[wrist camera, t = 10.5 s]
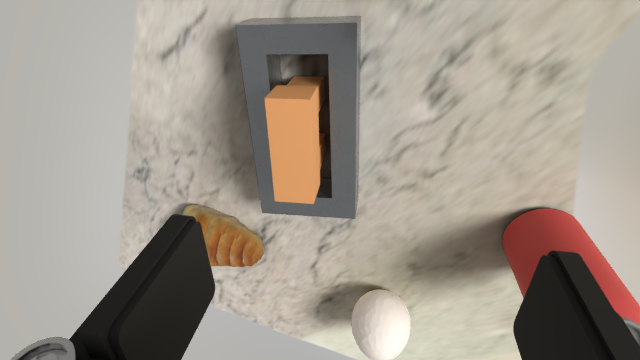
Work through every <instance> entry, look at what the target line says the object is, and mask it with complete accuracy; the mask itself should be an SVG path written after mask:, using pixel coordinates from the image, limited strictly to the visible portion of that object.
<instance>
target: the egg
mask: <svg viewBox="0 0 640 360" xmlns="http://www.w3.org/2000/svg"><path fill="white" fill-rule="evenodd" d="M351 325H352V332H353V336H354V338H355V340H356V343H357V345H358V346H359V348H360V350H361V351H362V352H363V353H364V354H365V355H366V356H367V357H369V358H370V359H373V360H391V359H393V358H395V357H396V356H397V355H398V354H399V353H400V352H401V351H402V350H403V348H404V347H405V345H406V343H407V341H408V338H409V335H410V315H409V312H408V310H407V307H406V305H405V304H404V302H403V301H402V300H401V299H400V298H399V297H398V296H397V295H395V294H394V293H392V292H390V291H387V290H381V289H377V290H373V291H369V292H367V293H366V294H364V295H363V296H362V297H360V299H359V300H358V301H357V303H356V304H355V306H354V310H353V313H352V323H351Z"/></svg>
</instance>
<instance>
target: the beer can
mask: <svg viewBox="0 0 640 360" xmlns="http://www.w3.org/2000/svg"><path fill="white" fill-rule="evenodd" d="M502 245H503V248H504V250H505V253H506V255H507V258H508V260H509V263H510V265H511V268H512V270H513V273H514V275H515V278H516V280H517V283H518V285H519V288H520V290H521V293H522V295H523V298H524V297H525V294H526V292H527V289H528V287H529V284H530V282H531V280H532V277H533V275H534V272H535V270H536V267H537V265H538V262H539V260H540V258H541V256H543V255H548V253H549V252H550V251H553V250H555V251H565V252H576V253H578V254H579V255H580V256H581V257H582V258H583V260H584V262H585V263H586V265H587V267H588V268H589V270H590V271H591V273H592V275H593V276H594V278H595V279H596V281H597V283H598V284H599V286H600V288H601V289H602V291H603V292H604V294H605V296H606V297H607V299H608V301H609V302H610V304H611V305H612V307H613V309H614V310H615V312H617V313H618V314H619V315H620V316H621V318H622V319H623V320H624V322H625V323H626V325H627V327H628V328H629V330H630V331H631V333H632V335H633V336H634V338H635V339H636V341H637V343H638V344H639V346H640V307H639V305H638V303H637V301H636V300H635V299H634V297H633V296H632V295H631V293H630V292H629V291H628V289H627V288H626V286H625V285H624V284H623V282H622V281H621V280H620V278H619V277H618V276H617V274H616V273H615V271H614V270H613V269H612V267H611V266H610V264H609V263H608V262H607V260H606V259H605V258H604V256H603V255H602V253H601V252H600V251H599V249H598V248H597V247H596V245H595V244H594V242H593V241H592V240H591V238H590V237H589V236H588V234H587V233H586V232H585V230H584V229H583V228H582V226H581V225H580V223H579V222H578V221H577V220H576V219H575V218H574V217H573V216H572V215H570V214H568V213H566V212H564V211H561V210H556V209H551V208H547V209H536V210H532V211H529V212H526V213H524V214H522V215H520V216H518V217H517V218H515V219H514V220H513V221H512V222H511V223H510V224H509V225H508V226H507V228H506V230H505V232H504V234H503V240H502Z"/></svg>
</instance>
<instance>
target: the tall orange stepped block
mask: <svg viewBox="0 0 640 360" xmlns="http://www.w3.org/2000/svg"><path fill="white" fill-rule="evenodd" d="M323 103H324V77H313V76H294V77H293V78H292V79H291V80H290V82H289V83H288V84H287V85H286V86H285V85H276V86H275V88H274V89H273V90H272V91H271V92H270V93H269V94H268V95H267V96H266V97H265V108H266V118H267V128H268V138H269V148H270V158H271V168H272V178H273V188H274V198H275V201H278V202H292V203H306V204H314V202H315V199H316V196H317V192H318V189H319V186H320V168H321V165H322V162H323V159H324V156H325V133H319V115H318V113H319V111H320V109H321V107H322V105H323Z"/></svg>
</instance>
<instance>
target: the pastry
mask: <svg viewBox="0 0 640 360" xmlns="http://www.w3.org/2000/svg"><path fill="white" fill-rule="evenodd" d="M182 215H187V216H193V217H194V218H195V219H196V221H198V222H200V223H201V226H202V231H203V235H204V239H205V244H206V248H207V253H208V257H209V261H210V266H232V267H238V266H240V267H244V266H252V265H253V264H255V263H257V262H258V261H259V260H260V259H261V257H262V256H263V254H264V250H265V248H264V244H263V241H262V239H261V237H260V236H259V235H258V234H257V233H256V232H254V231H252V230H250V229H248V228H247V227H246V226H245V225H244V224H242V223H241V222H240V221H239V220H238V219H236V218H235V217H233V216H228V215H226V214H224V213H221V212H219V211H216V210H214V209H212V208H209V207H205V206H202V205H197V204H190V205H188V206H186V208H185V209H184V211H183V213H182Z"/></svg>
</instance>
